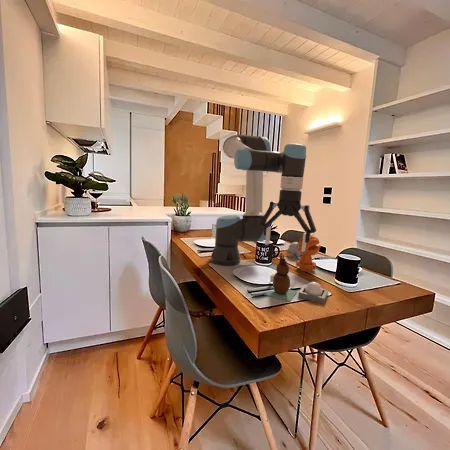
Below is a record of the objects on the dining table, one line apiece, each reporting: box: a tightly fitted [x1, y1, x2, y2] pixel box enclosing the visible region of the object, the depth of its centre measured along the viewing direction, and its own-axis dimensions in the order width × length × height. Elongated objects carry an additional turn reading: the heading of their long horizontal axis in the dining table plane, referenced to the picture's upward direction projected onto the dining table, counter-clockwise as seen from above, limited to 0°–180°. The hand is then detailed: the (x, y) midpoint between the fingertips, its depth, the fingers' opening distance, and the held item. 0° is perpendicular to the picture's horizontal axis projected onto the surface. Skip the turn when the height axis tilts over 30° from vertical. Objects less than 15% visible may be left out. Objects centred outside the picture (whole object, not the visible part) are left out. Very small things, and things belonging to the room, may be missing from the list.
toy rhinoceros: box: [286, 241, 303, 259], centre depth 150 cm, size 7×12×8 cm, turn 26°
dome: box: [304, 281, 324, 297], centre depth 99 cm, size 6×6×5 cm
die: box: [269, 272, 277, 283], centre depth 110 cm, size 4×4×4 cm
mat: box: [263, 289, 298, 302], centre depth 100 cm, size 10×10×1 cm
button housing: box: [297, 284, 329, 305], centre depth 100 cm, size 9×9×2 cm
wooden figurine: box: [273, 252, 291, 294], centre depth 99 cm, size 7×6×15 cm
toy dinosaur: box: [295, 234, 322, 273], centre depth 128 cm, size 11×11×18 cm
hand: (284, 247), depth 98 cm, fingers open, 13 cm apart
